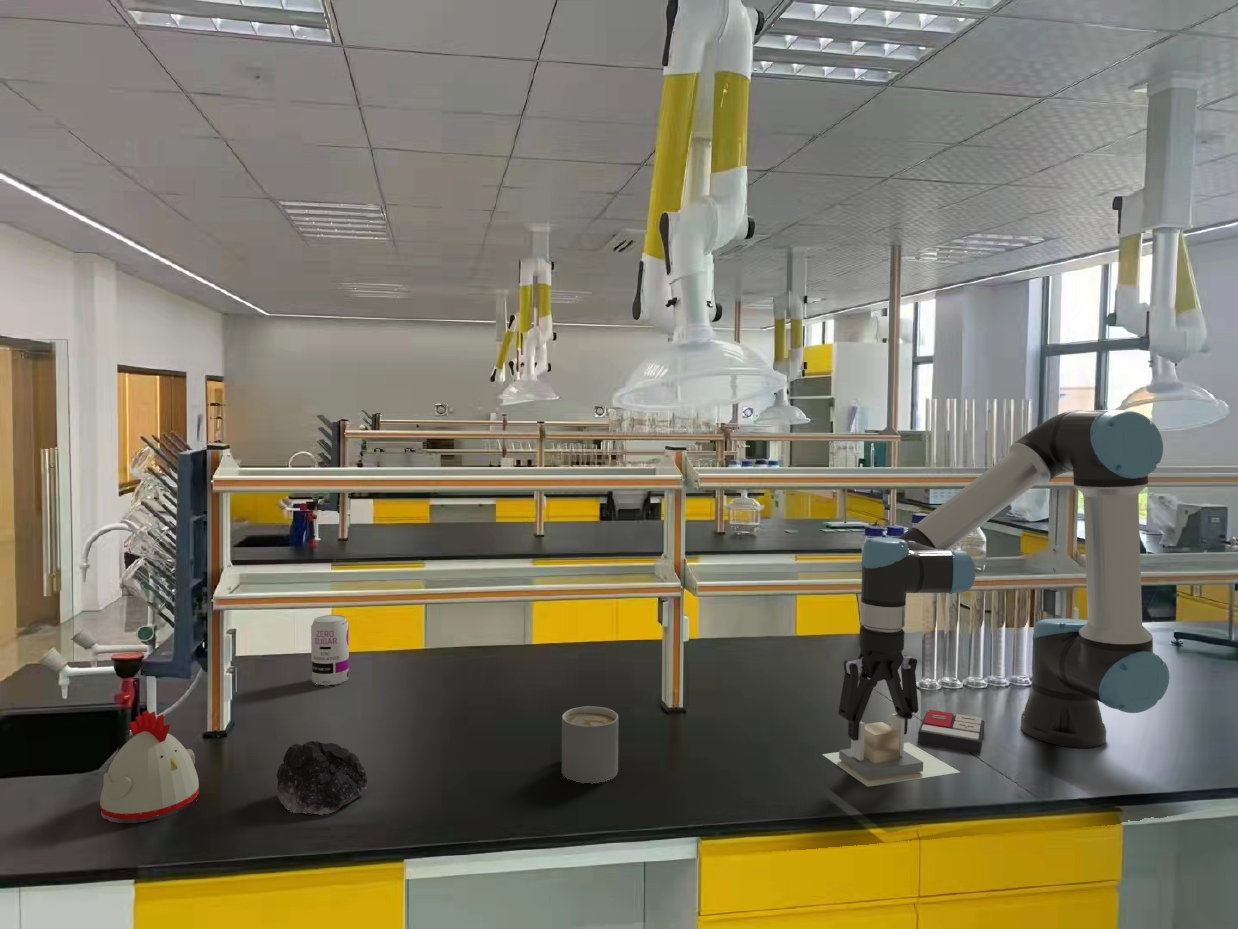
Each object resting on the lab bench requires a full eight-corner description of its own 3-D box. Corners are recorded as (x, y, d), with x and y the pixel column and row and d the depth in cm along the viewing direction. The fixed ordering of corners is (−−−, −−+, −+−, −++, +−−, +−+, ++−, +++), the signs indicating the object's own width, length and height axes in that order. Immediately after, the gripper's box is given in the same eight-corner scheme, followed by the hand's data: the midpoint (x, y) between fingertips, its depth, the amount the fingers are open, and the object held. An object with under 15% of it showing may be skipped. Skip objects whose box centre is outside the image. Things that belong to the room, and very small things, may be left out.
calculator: (984, 716, 168) (980, 738, 155) (984, 737, 168) (979, 761, 155) (926, 707, 173) (918, 727, 160) (926, 728, 173) (917, 750, 160)
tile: (890, 743, 154) (839, 750, 151) (923, 762, 146) (869, 770, 142) (890, 753, 154) (838, 761, 151) (923, 773, 146) (869, 781, 142)
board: (908, 748, 160) (908, 742, 160) (960, 778, 146) (960, 772, 146) (821, 760, 154) (821, 754, 154) (867, 793, 140) (867, 786, 140)
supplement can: (344, 674, 202) (343, 612, 201) (352, 684, 195) (352, 620, 194) (308, 679, 198) (308, 616, 197) (316, 689, 191) (315, 624, 190)
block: (881, 749, 151) (882, 722, 151) (898, 760, 146) (899, 732, 146) (857, 752, 150) (858, 724, 149) (874, 763, 145) (875, 735, 145)
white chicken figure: (141, 831, 126) (139, 733, 125) (79, 814, 131) (76, 719, 130) (218, 793, 138) (216, 704, 138) (159, 778, 144) (157, 692, 143)
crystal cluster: (381, 803, 137) (383, 741, 138) (303, 825, 127) (305, 758, 128) (339, 784, 146) (341, 726, 147) (262, 804, 136) (265, 741, 137)
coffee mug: (621, 782, 144) (621, 725, 143) (563, 785, 143) (563, 727, 142) (612, 751, 157) (612, 699, 156) (559, 753, 156) (559, 700, 155)
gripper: (916, 618, 153) (911, 741, 155) (819, 625, 147) (814, 752, 148) (944, 628, 146) (939, 756, 148) (844, 635, 140) (839, 770, 141)
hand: (877, 754), depth 148 cm, fingers open, 7 cm apart
